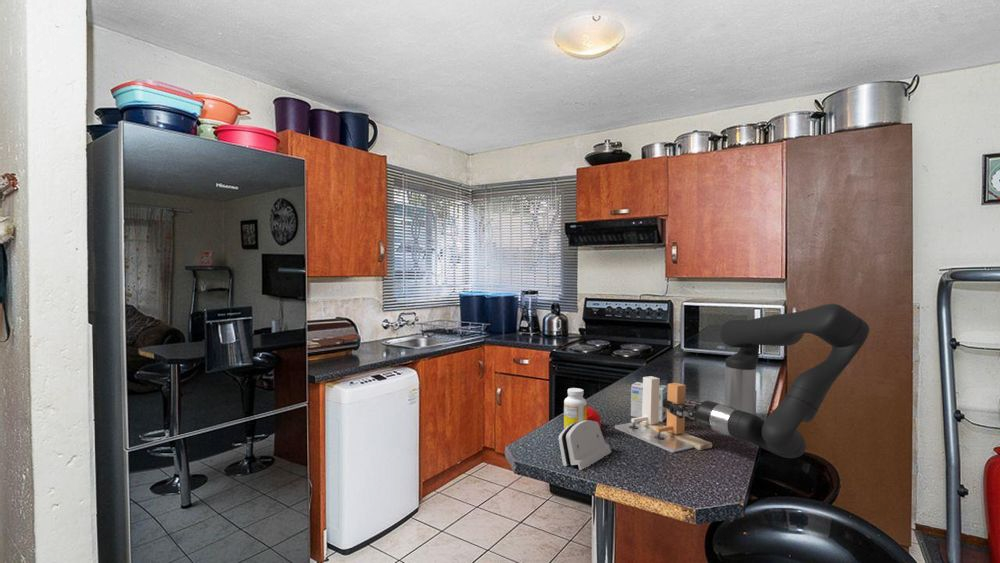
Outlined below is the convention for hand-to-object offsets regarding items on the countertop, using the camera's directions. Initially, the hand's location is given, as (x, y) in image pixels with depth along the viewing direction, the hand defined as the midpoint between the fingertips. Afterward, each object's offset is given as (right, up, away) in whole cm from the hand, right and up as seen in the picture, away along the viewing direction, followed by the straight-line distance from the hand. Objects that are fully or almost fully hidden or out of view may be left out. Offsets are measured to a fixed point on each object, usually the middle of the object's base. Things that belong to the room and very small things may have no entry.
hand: (668, 402), depth 137 cm
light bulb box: (0, -10, +17) cm, 19 cm away
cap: (-23, -9, +6) cm, 25 cm away
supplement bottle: (-28, -9, -1) cm, 30 cm away
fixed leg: (-6, -8, +5) cm, 11 cm away
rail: (+1, -10, -2) cm, 10 cm away
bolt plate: (-6, -9, -3) cm, 12 cm away
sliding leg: (-1, -8, -4) cm, 9 cm away
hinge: (-29, -9, -19) cm, 36 cm away
